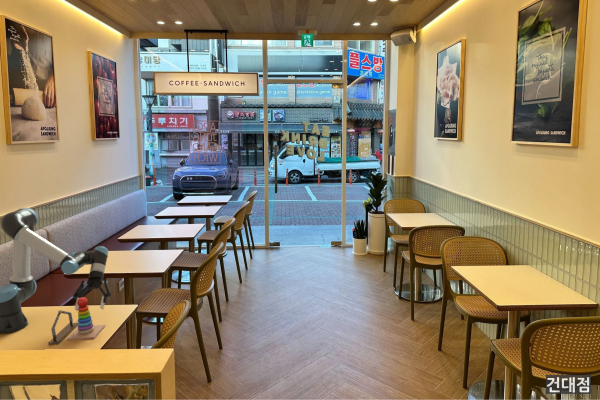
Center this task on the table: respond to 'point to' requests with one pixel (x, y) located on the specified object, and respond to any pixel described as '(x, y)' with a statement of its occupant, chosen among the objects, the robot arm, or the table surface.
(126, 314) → the table surface
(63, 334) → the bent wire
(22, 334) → the table surface
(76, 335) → the terracotta pad
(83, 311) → the stacking toy
